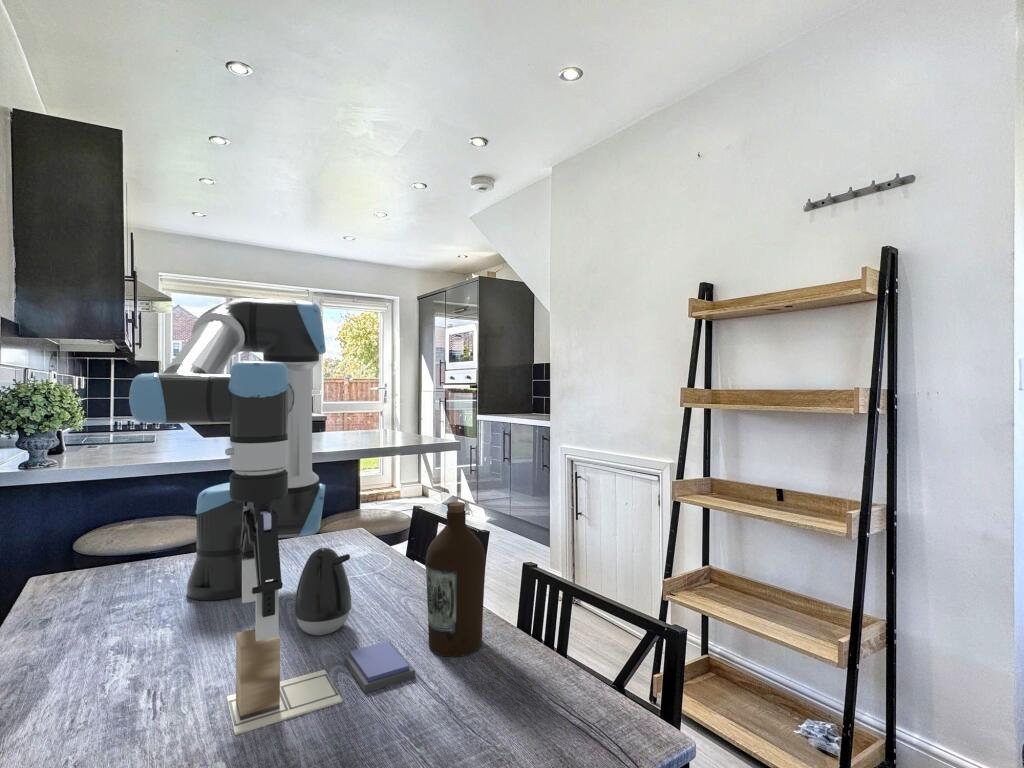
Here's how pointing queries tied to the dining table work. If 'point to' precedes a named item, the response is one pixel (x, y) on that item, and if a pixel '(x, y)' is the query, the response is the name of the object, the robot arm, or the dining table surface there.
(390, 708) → the dining table surface
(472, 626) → the olive oil
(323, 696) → the tag card
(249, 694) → the tall wooden block
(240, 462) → the robot arm
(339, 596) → the pump dispenser
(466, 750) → the dining table surface
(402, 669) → the ink pad
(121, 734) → the dining table surface
